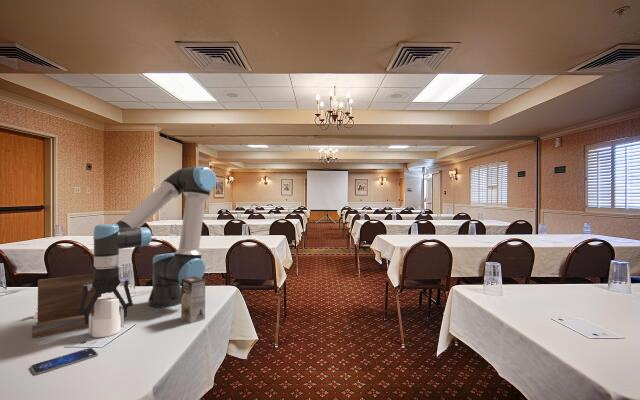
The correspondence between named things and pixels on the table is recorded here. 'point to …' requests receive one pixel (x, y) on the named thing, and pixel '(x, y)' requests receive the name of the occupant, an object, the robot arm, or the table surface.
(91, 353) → the smartphone
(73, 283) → the wooden arch stand
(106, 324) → the white stepped block
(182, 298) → the coffee box
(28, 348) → the table surface
